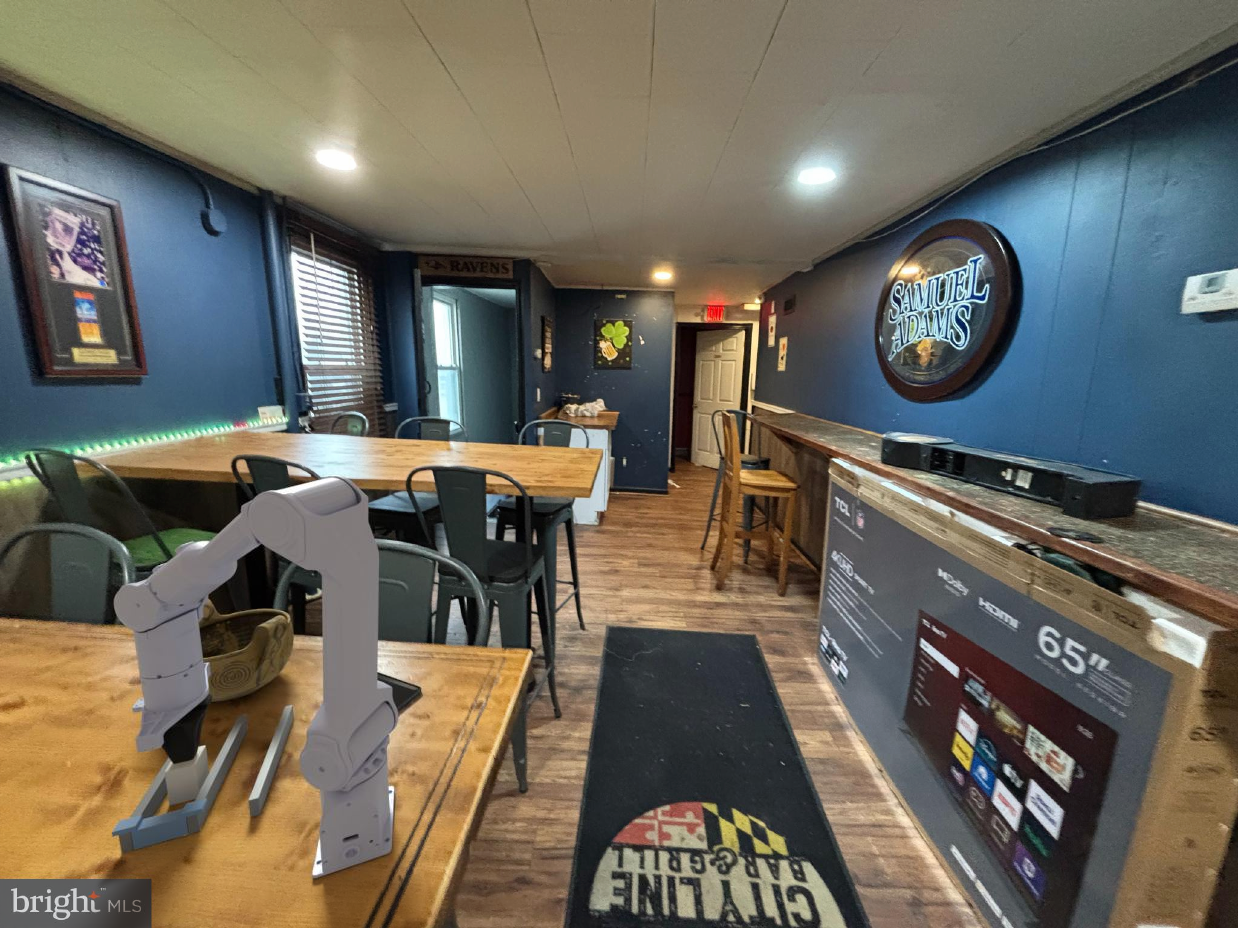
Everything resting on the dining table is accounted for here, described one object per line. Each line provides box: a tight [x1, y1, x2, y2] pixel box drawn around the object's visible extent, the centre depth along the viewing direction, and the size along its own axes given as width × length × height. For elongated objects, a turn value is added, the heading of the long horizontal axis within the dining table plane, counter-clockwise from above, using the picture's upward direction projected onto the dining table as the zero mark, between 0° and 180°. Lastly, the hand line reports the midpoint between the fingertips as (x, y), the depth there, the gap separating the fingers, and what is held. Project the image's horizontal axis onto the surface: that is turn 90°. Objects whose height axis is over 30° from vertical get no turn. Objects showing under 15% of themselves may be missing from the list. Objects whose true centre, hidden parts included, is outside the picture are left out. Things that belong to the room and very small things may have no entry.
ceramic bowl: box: [198, 598, 295, 703], centre depth 79 cm, size 22×17×15 cm
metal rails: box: [111, 704, 295, 854], centre depth 63 cm, size 18×14×3 cm
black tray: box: [377, 671, 422, 714], centre depth 80 cm, size 8×1×15 cm
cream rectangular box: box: [165, 745, 210, 806], centre depth 60 cm, size 4×3×5 cm
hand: (185, 757), depth 60 cm, fingers closed
